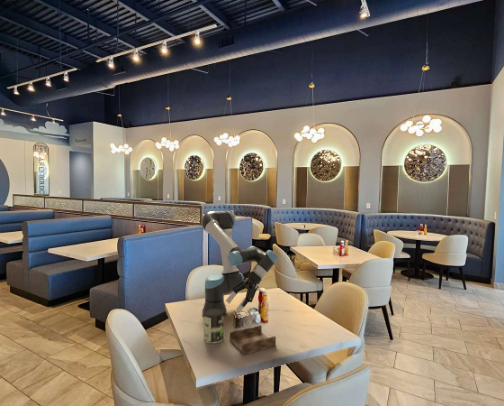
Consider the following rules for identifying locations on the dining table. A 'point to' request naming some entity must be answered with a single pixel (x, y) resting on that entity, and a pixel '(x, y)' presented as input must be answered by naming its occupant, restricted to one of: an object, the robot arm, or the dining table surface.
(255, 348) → the cradle
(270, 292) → the dining table surface
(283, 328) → the dining table surface
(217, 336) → the coffee can
